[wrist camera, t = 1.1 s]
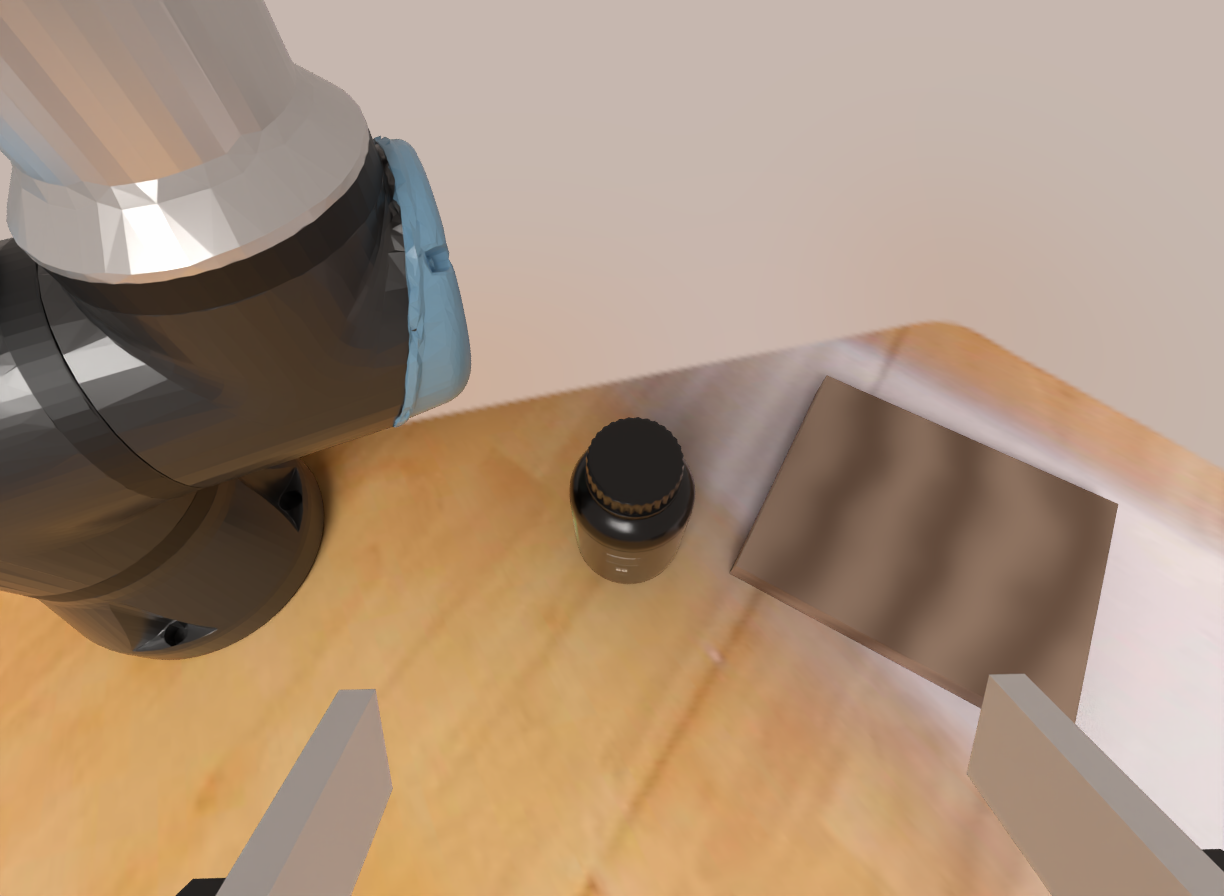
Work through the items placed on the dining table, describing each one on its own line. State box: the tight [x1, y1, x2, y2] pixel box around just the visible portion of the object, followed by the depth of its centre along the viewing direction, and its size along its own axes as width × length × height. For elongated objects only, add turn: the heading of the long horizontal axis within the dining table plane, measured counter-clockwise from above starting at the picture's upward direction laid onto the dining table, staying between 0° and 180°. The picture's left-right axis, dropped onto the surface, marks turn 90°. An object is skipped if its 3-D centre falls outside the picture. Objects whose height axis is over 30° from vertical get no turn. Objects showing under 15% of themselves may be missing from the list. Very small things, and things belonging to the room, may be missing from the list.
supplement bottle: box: [570, 417, 695, 584], centre depth 34 cm, size 7×7×12 cm
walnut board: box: [730, 376, 1118, 723], centre depth 38 cm, size 20×16×2 cm
